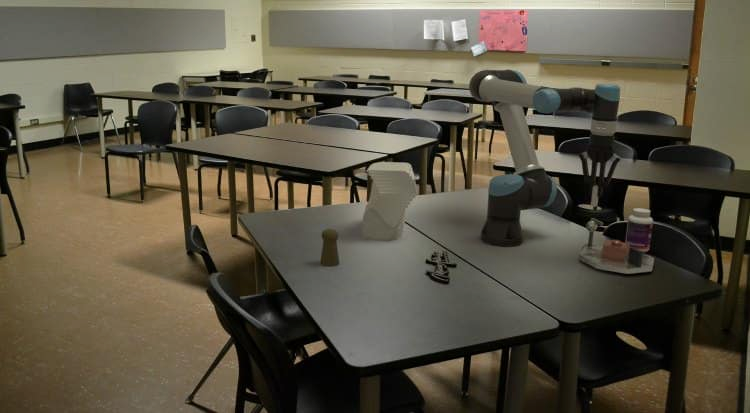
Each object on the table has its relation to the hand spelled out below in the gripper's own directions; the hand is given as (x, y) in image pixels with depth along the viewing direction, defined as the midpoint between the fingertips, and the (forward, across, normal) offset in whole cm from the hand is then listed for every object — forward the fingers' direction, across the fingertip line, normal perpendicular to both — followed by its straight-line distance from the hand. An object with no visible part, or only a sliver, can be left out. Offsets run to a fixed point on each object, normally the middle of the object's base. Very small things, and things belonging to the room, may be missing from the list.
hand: (594, 205), depth 205 cm
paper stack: (+19, -68, -13) cm, 72 cm away
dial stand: (+18, -1, +10) cm, 21 cm away
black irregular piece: (+19, -36, -37) cm, 55 cm away
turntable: (+18, +9, 0) cm, 20 cm away
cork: (+19, -68, -53) cm, 88 cm away
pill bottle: (+19, +12, +20) cm, 30 cm away
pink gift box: (+16, +8, 0) cm, 18 cm away
